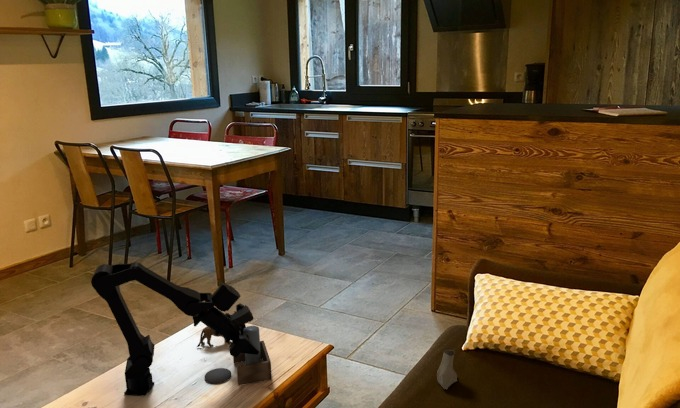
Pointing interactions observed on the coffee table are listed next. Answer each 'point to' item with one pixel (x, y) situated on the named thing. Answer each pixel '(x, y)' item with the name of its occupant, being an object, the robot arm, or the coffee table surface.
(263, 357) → the crate
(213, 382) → the coaster
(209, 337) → the lion figurine
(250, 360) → the grey post
